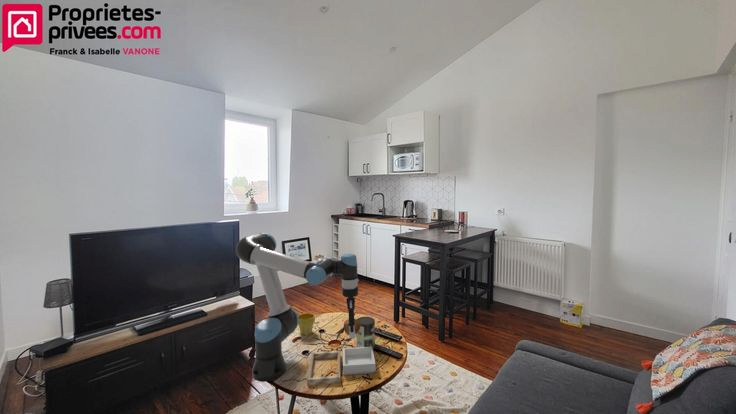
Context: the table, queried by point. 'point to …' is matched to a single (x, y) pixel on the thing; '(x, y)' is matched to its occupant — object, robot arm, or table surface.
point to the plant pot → (306, 323)
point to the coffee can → (366, 332)
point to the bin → (358, 361)
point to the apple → (346, 327)
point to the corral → (323, 379)
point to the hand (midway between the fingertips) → (352, 333)
